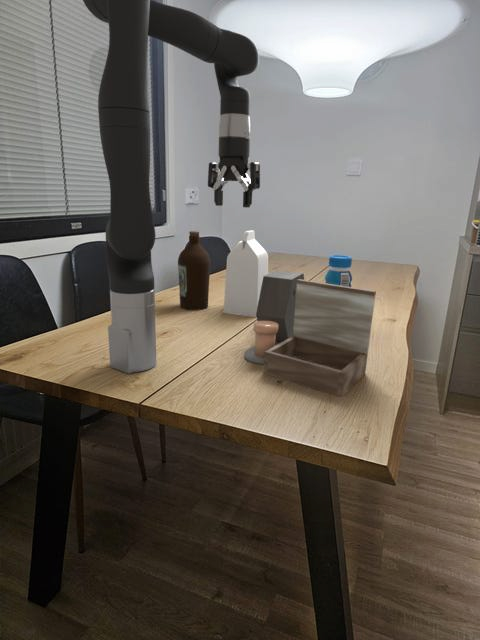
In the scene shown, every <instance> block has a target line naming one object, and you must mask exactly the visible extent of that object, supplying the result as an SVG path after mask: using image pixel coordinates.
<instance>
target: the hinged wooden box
mask: <svg viewBox="0 0 480 640" xmlns="http://www.w3.org/2000/svg"><path fill="white" fill-rule="evenodd" d="M376 295H377V290H371V289H367V288H366V289H364V288H359V287H358V288H357V287H353V286H352V287H347V286H340V285H334V284H327V283H325V282H320V281H314V280H313V281H312V280H307V279H304V280H302V279H298V280H297V289H296V302H295V315H294V329H293V336H292V337H291V338H289V339H287V340H285V341H283V342H279V343H278V344H275V346H274V347H272V348H270V349H269V350H267V351H265V352H264V364H263V370H262V371H263V374H265V375H269V376H272V377H276V378H279V379H282V380H285V381H289V382H292V383H294V384H298V385H302V386H306V387H308V388H312V389H315V390H318V391H320V392H321V391H322V392H324V393H327V394H332V395H335V396H338V397H341V398H342V397H343V396H344V395H345V394H346V393H347V392H349V390H350V389H352V388H353V386H354V385H355V384H356V383H357V382H358V381H359V380H360V379H362V377H363V376H364V375H365V374H366V371H367V370H366V369H367V361H368V356H369V346H370V341H371V340H370V339H371V331H372V324H373V317H374V316H373V315H374V310H375V309H374V308H375V301H376Z"/></svg>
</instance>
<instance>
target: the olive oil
mask: <svg viewBox="0 0 480 640" xmlns="http://www.w3.org/2000/svg"><path fill="white" fill-rule="evenodd" d="M188 233H189V236H188V244H187V245H186V246H185V247H184V249H183V250H182V251H181V252H180V253H179V256H178V258H177V269H178V270H177V271H178V272H177V273H178V286H179V306H180V309H183V310H186V311H202V310H205V309H207V308H208V307H209V293H210V292H209V291H210V278H211V277H210V274H211V273H210V272H211V258H210V254H209V253H208V252H207V251H206V249H205V248H204V247H203V246H202V245H201V243H200V240H201V239H200V238H201V237H200V231H198V230H197V231H196V230H194V231H193V230H192V231H191V230H190V231H189V232H188Z"/></svg>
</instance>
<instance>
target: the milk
mask: <svg viewBox="0 0 480 640" xmlns="http://www.w3.org/2000/svg"><path fill="white" fill-rule="evenodd" d="M255 234H256V233H255V230H246V231H244V232H243V235H242V236H243V237H242V240H240V241H238V242H237V243H236V245H235V247H234V248H233V249H232V250H231V251H230V252H229V253H228V254H227V257H226V269H225V270H226V271H225V283H224V285H225V286H224V299H223V300H224V301H223V314H228V315H229V314H230V315H237V316H238V315H239V316H245V317H252V318H257V317H256V312H257V307H258V302H259V297H260V291H261V286H262V281H263V277H264V276H265V275H267V274H269V254H268V252H267V250H265V248H264V247H263V246H262V245H261V244H260V243H259V242H258V240H256V238H255V237H256V236H255Z"/></svg>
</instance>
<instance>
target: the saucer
mask: <svg viewBox="0 0 480 640" xmlns="http://www.w3.org/2000/svg"><path fill="white" fill-rule="evenodd" d="M254 352H255V347H250V348H248V349H246V350H244V352H243V357H244V358H243V359H245V360H246V361H248V362H249V363H250V362H251V363H254V364H257V365H258V364H259V365H264V358H261V357H257V356H256V355H255V354H254Z"/></svg>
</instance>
